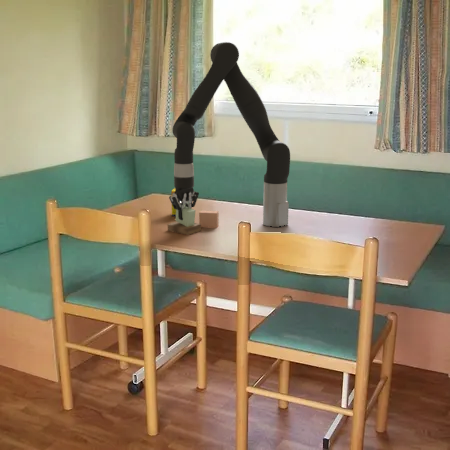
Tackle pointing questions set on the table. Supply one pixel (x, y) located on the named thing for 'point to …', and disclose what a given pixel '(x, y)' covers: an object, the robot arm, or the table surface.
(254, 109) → the robot arm
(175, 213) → the supplement box
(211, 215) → the terracotta brick
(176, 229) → the walnut slab
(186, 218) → the sage brick
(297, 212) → the table surface
